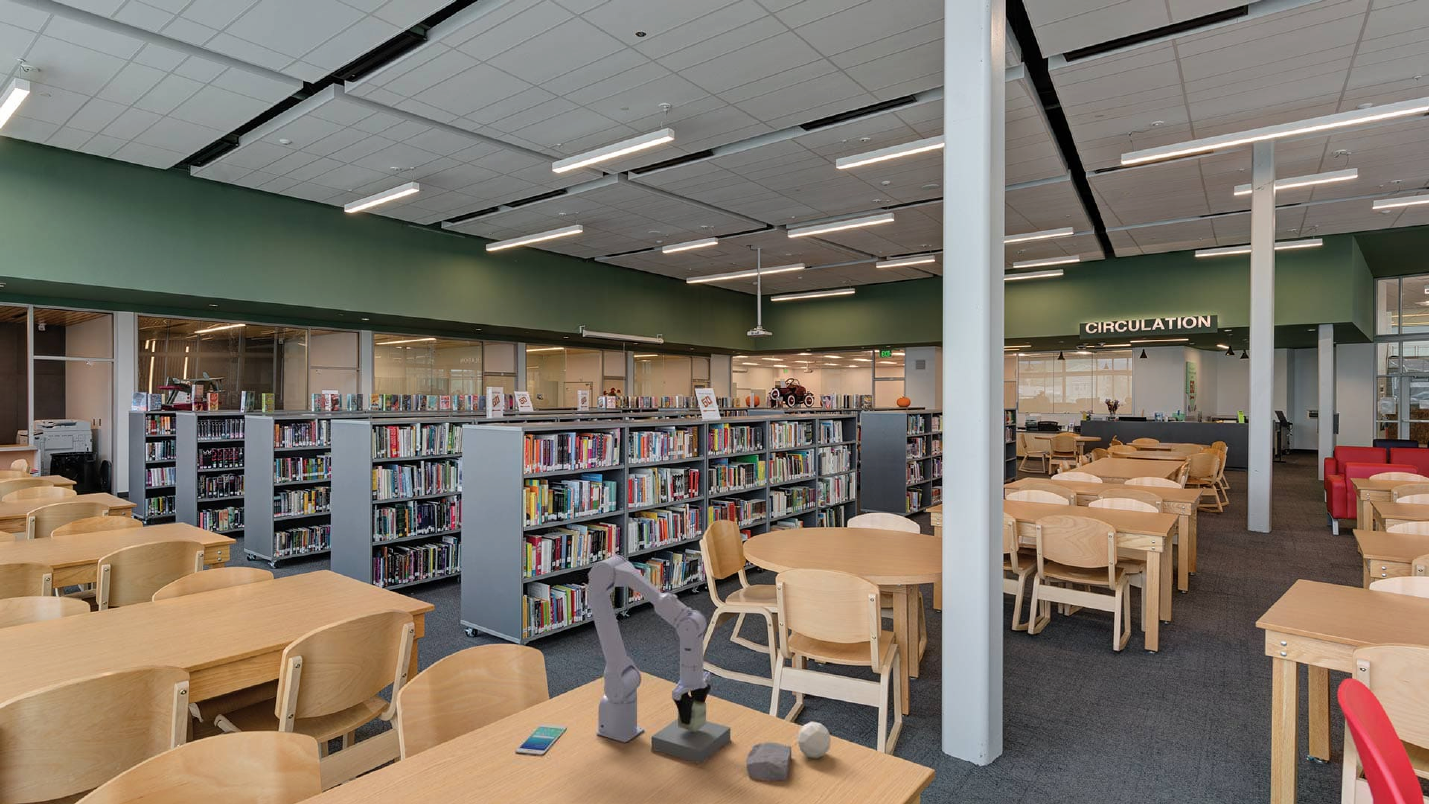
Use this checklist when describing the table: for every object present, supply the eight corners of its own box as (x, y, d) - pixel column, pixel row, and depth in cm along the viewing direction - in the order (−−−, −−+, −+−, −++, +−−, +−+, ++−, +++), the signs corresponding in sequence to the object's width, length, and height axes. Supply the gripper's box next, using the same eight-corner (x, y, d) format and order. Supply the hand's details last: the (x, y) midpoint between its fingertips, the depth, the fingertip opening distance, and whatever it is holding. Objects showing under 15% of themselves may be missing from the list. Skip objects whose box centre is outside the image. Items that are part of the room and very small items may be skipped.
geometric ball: (805, 768, 167) (785, 738, 168) (825, 746, 172) (805, 717, 173) (823, 764, 161) (802, 733, 163) (843, 741, 166) (822, 711, 168)
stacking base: (651, 749, 170) (651, 736, 170) (683, 726, 182) (683, 714, 182) (700, 764, 163) (700, 751, 163) (730, 739, 175) (730, 727, 175)
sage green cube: (677, 726, 172) (677, 706, 172) (688, 719, 176) (688, 699, 176) (695, 731, 169) (695, 710, 169) (706, 723, 174) (706, 703, 174)
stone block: (746, 787, 157) (790, 782, 155) (742, 765, 157) (786, 760, 156) (753, 762, 169) (794, 758, 167) (749, 742, 169) (790, 737, 167)
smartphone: (568, 726, 181) (543, 754, 167) (567, 729, 181) (543, 757, 167) (540, 723, 183) (514, 751, 168) (540, 727, 183) (513, 754, 168)
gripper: (689, 676, 165) (689, 734, 164) (720, 657, 177) (720, 711, 177) (664, 670, 168) (664, 727, 168) (696, 652, 181) (696, 705, 181)
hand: (691, 719), depth 173 cm, fingers closed on sage green cube, 5 cm apart
